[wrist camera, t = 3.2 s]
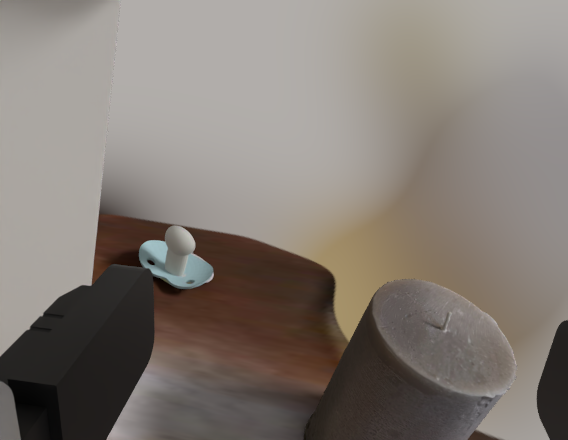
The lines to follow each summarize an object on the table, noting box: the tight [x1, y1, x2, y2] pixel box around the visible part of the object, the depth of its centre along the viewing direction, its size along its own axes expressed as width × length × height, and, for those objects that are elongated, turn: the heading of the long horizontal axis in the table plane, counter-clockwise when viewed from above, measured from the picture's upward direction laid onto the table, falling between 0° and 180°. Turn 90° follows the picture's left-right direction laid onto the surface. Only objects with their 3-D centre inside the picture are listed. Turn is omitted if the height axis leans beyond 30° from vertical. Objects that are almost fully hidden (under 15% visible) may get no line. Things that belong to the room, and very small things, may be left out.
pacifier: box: [139, 226, 213, 289], centre depth 49 cm, size 7×6×6 cm
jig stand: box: [0, 0, 121, 356], centre depth 25 cm, size 8×8×34 cm
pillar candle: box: [304, 279, 517, 440], centre depth 35 cm, size 10×10×15 cm
